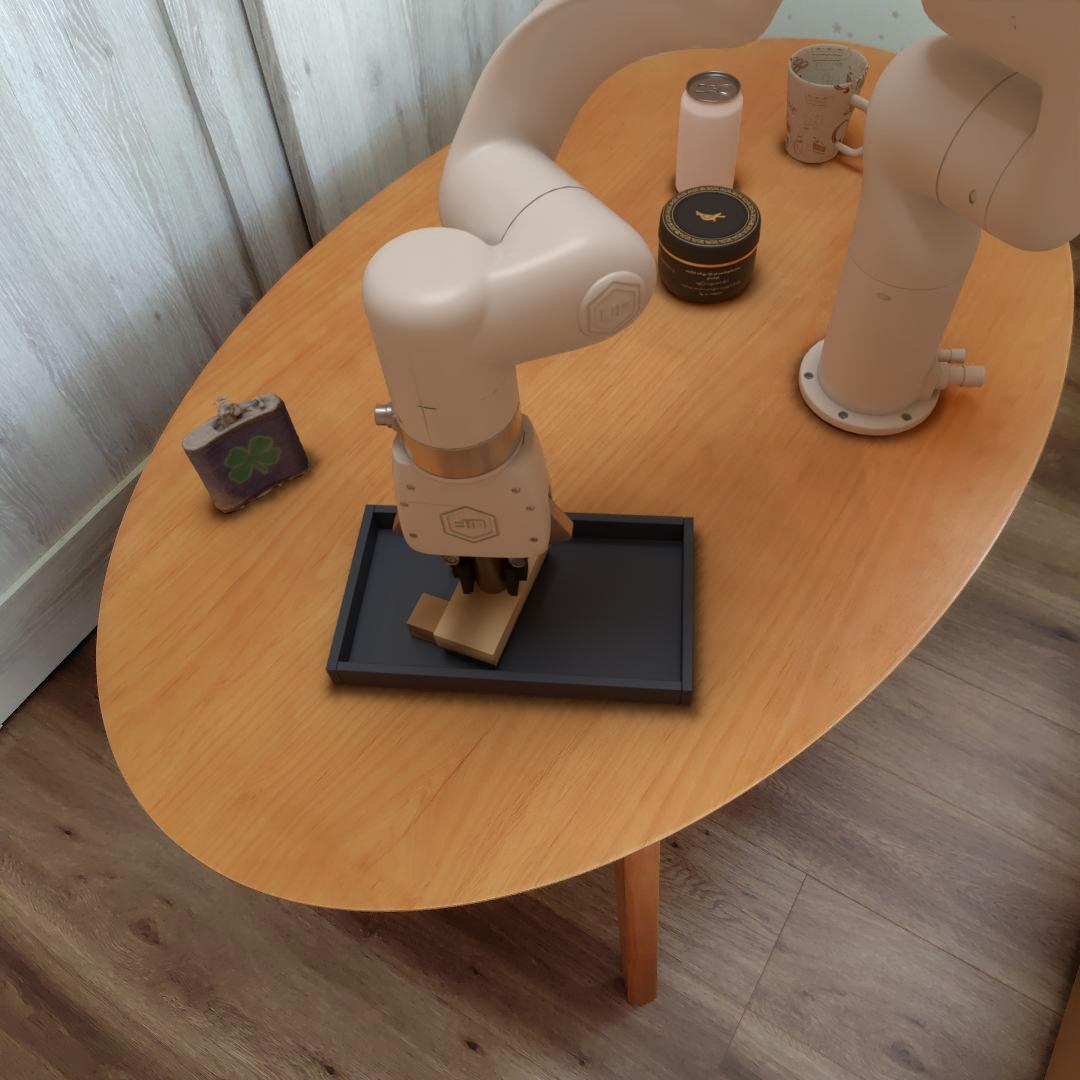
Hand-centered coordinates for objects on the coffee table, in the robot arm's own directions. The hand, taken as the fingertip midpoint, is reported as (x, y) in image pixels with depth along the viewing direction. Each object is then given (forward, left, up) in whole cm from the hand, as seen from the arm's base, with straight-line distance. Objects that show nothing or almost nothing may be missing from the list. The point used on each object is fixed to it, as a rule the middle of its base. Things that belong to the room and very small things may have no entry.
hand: (492, 577), depth 73 cm
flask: (+23, -12, -5) cm, 27 cm away
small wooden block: (+5, +2, -4) cm, 7 cm away
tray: (-2, 0, -5) cm, 5 cm away
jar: (-17, -41, -5) cm, 45 cm away
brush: (0, 0, -4) cm, 4 cm away
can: (-17, -56, -5) cm, 59 cm away
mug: (-31, -62, -5) cm, 69 cm away
